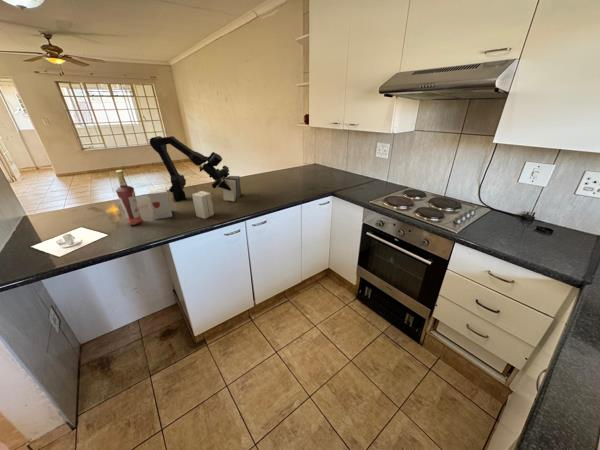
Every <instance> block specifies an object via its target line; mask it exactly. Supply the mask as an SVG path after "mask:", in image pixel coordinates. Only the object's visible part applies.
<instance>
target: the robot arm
mask: <svg viewBox="0 0 600 450" xmlns="http://www.w3.org/2000/svg"><path fill="white" fill-rule="evenodd" d="M148 141H149V145H150V146H151V148H152V149H153V151H155V152H156V153H157V154H158V155H159V157H160V159H161V161H162V163H163V165H164V167H165V168H166V170H167V172H168V174H169V176H170V183H171V186H169V188H168V190H169V192H170V193H172V194H171V195H172V200H173V201H174V202H181V201H186V200H187V198H186V192H185V191H184V189H185V186H186V185H187V179H186V178H185V176H184V174H181V173H179V172H178V170H177V167H176V166H175V164H174V162H173V160H172V158H171V156H170V154H169V152H168V146H167V145H170V146H171V147H173V148H175V149H176V150H178V151H179V152H180V153H182V154H183V155H185V156H186V157H188V159H189V160H190V162H191V163H193V165H195V166H199V172H200V173H201V172H203V171H204V172H205V173H206V174H207V175H208V177H209V178H210V179H211V178H212V179H213V181H214V182H213V183H212V184H211V187H212V188H213V189H214V190H215V189H216V188H220V189H226V190H229V191H230V190H231V189H230V187H229V186H228V185H227V184H226V183H225V180H224V179H228V177H229V176H230V173H229V172H230V169H229V166H227V165H223V166H222V168H221V169H219V168H216V167H218V166H219V164H220V163H221V162H223V157H222V156H221V155H220V154H218V153H216V152H214V151H212V152H211V153H210V154H209V156H206V155H204V154H202V153H200V152H199V151H195V150H193V149H191V148H189V147H188V146H187V145H186V144H184V143H182V142H181V141H180V140H179V139H177V138H176V137H175V136H173V135H171V136H170V135H169V136H164V137H163V136H160V135H158V136H157V135H156V136H153V137H151V138H150V139H149V140H148Z"/></svg>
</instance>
